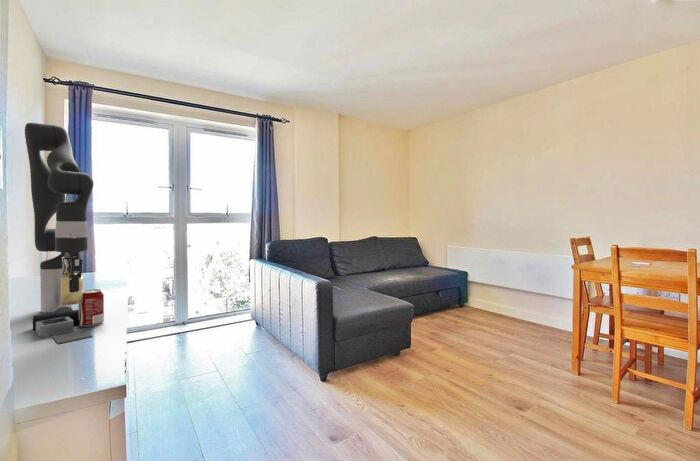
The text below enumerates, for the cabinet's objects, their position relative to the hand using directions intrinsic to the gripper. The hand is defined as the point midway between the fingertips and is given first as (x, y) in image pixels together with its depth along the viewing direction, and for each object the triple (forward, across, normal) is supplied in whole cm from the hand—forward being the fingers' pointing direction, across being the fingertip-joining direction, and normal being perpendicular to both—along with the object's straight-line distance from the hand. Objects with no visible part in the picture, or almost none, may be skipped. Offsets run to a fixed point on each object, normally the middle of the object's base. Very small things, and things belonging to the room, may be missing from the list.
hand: (72, 290), depth 97 cm
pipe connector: (+15, -21, +1) cm, 26 cm away
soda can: (+15, -11, +7) cm, 20 cm away
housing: (+15, -11, -2) cm, 19 cm away
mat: (+15, 0, 0) cm, 15 cm away
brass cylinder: (+4, 0, 0) cm, 4 cm away
